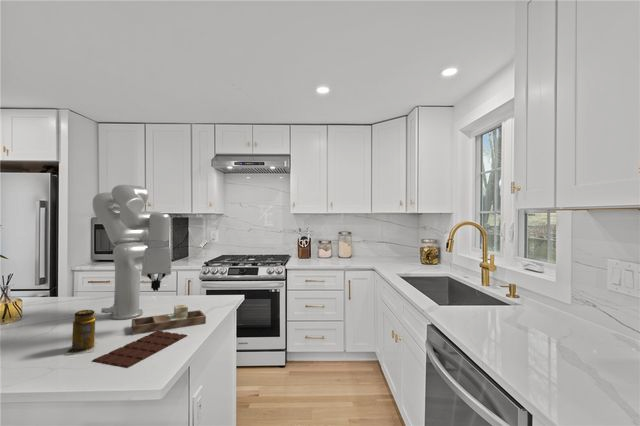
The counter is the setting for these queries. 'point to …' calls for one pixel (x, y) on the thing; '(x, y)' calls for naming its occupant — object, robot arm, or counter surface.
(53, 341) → the counter surface
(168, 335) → the chocolate bar
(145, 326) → the box
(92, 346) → the condiment
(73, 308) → the counter surface
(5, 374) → the counter surface
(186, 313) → the block
